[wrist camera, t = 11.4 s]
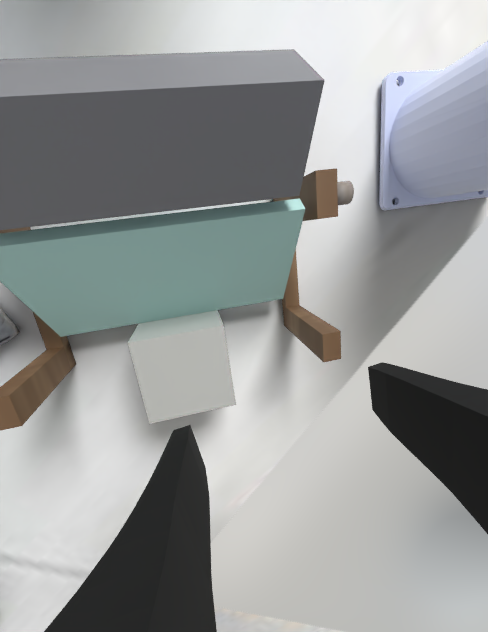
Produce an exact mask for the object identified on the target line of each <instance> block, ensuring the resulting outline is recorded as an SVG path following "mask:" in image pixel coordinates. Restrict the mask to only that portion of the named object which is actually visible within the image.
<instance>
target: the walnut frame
mask: <svg viewBox="0 0 488 632" xmlns="http://www.w3.org/2000/svg"><path fill="white" fill-rule="evenodd" d="M353 194H354V188H353V185H352V183H351V182H350V181H344V182H337V169H328V170H318V171H314V172H312V173H310V174H308V175H306V176H304V177H303V181H302V186H301V190H300V195H299V196H292V197H284V198H275V199H273V200H274V201H283V200H291V199H300V200H301V202H302V204H303V205H304V207H305V213H304V217H303V221H306V220H314V219H322V218H329V217H337V216H338V205H344V204H349V203H350V202H351V201H352V198H353ZM26 230H31V229H30V227H24V228H15V229H6V230H0V234H1V233H9V232H18V231H26ZM282 306H283V318H284V326H285V327H286V328H287V329H289V330H290V331H291V332H292V333H293V334H294V335H295V336H296V337H297V338H298V339H299V340H300V341H301V342H302V343H304V344H305V345H306V346H307V347H308V348H309V349H310V350H311V351H312V352H313V353H314V354H315V355H316V356H317V357H319V358H320V359H321V360H322V361H323V362H328V361H332V360H337V359H341V336H340V331H339V330H338V329H336V328H335V327H333V326H331V325H330V324H328V323H327V322H325V321H323V320H322V319H320V318H319V317H317V316H315V315H314V314H312V313H311V312H309V311H307V310H306V309H304V308H303V307H301V306H299V293H298V278H297V263H296V249H295V253H294V257H293V261H292V265H291V269H290V273H289V277H288V281H287V285H286V289H285V293H284V297H283V299H282ZM33 314H34V317H35V319H36V322H37V325H38V328H39V330H40V333H41V336H42V339H43V341H44V344H45V347H46V349H47V350H46V351H45V352H44V353H42V354H41V355H40V356H39V357H37V358H36V359H35V360H34V361H32V362H31V363H30V364H29V365H27V366H26V367H25V368H24V369H22V370H21V371H20V372H19V373H17V374H16V375H15V376H14V377H13V378H11V379H10V380H9V381H8V382H6V383H5V384H4V385H3V386H1V387H0V430H5V429H10V428H14V427H19V426H22V425H23V424H24V423H25V422H26V421H27V420H28V419H29V417H30V416H31V415H32V414H33V413H34V412H35V411H36V409H37V408H38V407H39V406H40V405H41V404H42V403H43V401H44V400H45V399H46V398H47V397H48V396H49V395H50V393H51V392H52V391H53V390H54V389H55V388H56V387H57V385H58V384H59V383H60V382H61V381H62V380H63V379H64V377H65V376H66V375H67V374H68V373H69V372H70V371H71V369H72V368H73V367H74V366H75V365H76V362H75V359H74V356H73V353H72V350H71V347H70V344H69V341H68V339H67V336H63V337H60V336H59V335H58V334H57V333H56V332H55V331H54V330H53V329H52V328H51V327H49V326H48V325H47V324H46V323H45V322H44V321H43V320H42V319H41V318H40V317H39V316H37V315H36V314H35V313H34V312H33Z"/></svg>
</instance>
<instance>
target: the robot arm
mask: <svg viewBox="0 0 488 632" xmlns="http://www.w3.org/2000/svg"><path fill="white" fill-rule="evenodd" d="M396 80H398V81H399V86H398V85H397V83H396ZM478 191H479V192H478ZM484 197H488V41H487V42H485V43H483V44H482V45H480V46H479V47H477V48H476V49H474V50H473V51H471V52H470V53H468V54H467V55H465V56H464V57H462V58H460V59H459V60H457V61H456V62H454V63H453V64H451V65H450V66H448V67H447V68H445V69H444V70H425V71H405V72H391V73H389V74H388V75H387V76H386V77H384V79H383V81H382V103H381V151H380V200H379V204H380V207H381V209H383V210H391V209H399V208H407V207H414V206H422V205H430V204H437V203H445V202H453V201H461V200H468V199H476V198H484ZM393 199H395V204H394V205H393V203H392V200H393ZM368 370H369V380H370V389H371V399H372V408H373V411H374V412H375V413H376V415H377V416H378V417H379V418H380V420H381V421H382V422H383V424H384V425H385V426H386V427H387V428H388V430H389V431H390V432H391V433H392V434H393V435H394V436H395V437H396V438H397V439H398V440H399V441H400V442H401V443H402V444H403V445H404V446H405V447H406V448H407V449H408V450H409V451H411V453H412V454H413V455H414V456H415V457H417V458H418V459H419V460H420V461H421V462H422V463H423V464H424V465H425V466H426V467H427V468H428V469H429V470H430V471H431V472H432V473H433V474H434V475H435V476H436V477H437V478H438V479H439V480H440V481H441V482H442V483H443V484H444V485H445V486H446V487H447V488H448V489H449V490H450V491H451V492H452V493H453V494H454V495H455V497H456V498H457V499H458V500H459V501H460V502H461V503H462V505H463V506H464V507H465V508H466V509H467V510H468V511H469V513H470V514H471V515H472V516H473V517H474V518H475V520H476V521H477V522H478V523H479V524H480V525H481V527H482V528H483V529H484V530H485V531H486V532H487V534H488V390H487V389H482V388H477V387H474V386H469V385H465V384H460V383H456V382H453V381H449V380H445V379H442V378H438V377H434V376H431V375H427V374H424V373H420V372H417V371H413V370H410V369H406V368H403V367H399V366H395V365H391V364H387V363H379V364H376V365H373V366H370V367H368ZM210 549H211V548H210V507H209V491H208V483H207V476H206V468H205V465H204V462H203V459H202V457H201V454H200V451H199V448H198V446H197V443H196V440H195V437H194V434H193V432H192V429H191V426H190V425H189V426H186V427H183V428H180V429H176V430H174V431H173V433H172V434H171V437H170V439H169V441H168V443H167V445H166V448H165V450H164V452H163V454H162V456H161V458H160V461H159V463H158V465H157V467H156V469H155V471H154V473H153V475H152V477H151V479H150V481H149V483H148V484H147V486H146V488H145V490H144V492H143V493H142V495H141V497H140V499H139V501H138V502H137V504H136V506H135V508H134V510H133V511H132V513H131V515H130V516H129V518H128V519H127V521H126V523H125V524H124V526H123V528H122V529H121V531H120V532H119V534H118V535H117V537H116V538H115V540H114V541H113V543H112V544H111V546H110V547H109V549H108V550H107V552H106V553H105V554H104V556H103V557H102V558H101V560H100V561H99V562H98V564H97V565H96V566H95V568H94V569H93V570H92V572H91V573H90V575H89V576H88V577H87V579H86V580H85V581H84V583H83V584H82V585H81V587H80V588H79V589H78V591H77V592H76V593H75V594H74V596H73V597H72V598H71V599H70V601H69V602H68V603H67V604H66V606H65V607H64V608H63V609H62V611H61V612H60V613H59V614H58V616H57V617H56V618H55V619H54V620H53V622H52V623H51V624H50V625H49V626H48V628H47V629H46V630H45V631H44V632H217V631H216V622H215V612H214V603H213V593H212V581H211V580H212V579H211V550H210Z"/></svg>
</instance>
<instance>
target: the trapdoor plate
mask: <svg viewBox="0 0 488 632" xmlns="http://www.w3.org/2000/svg"><path fill="white" fill-rule="evenodd" d="M323 84H324V79H323V78H322V77H321V76H320V75H319V74H318V73H317V72H316V71H315V70H314V69H313V68H312V67H311V66H310V65H309V64H308V63H307V62H306V61H305V60H304V59H303V58H302V57H301V56H300V55H299V54H298V53H297V52H296V51H295V50H294V49H292V50H262V51H233V52H204V53H175V54H146V55H116V56H87V57H58V58H29V59H0V230H6V229H15V228H24V227H32V226H41V225H50V224H58V223H67V222H76V221H84V220H93V219H102V218H110V217H119V216H128V215H136V214H145V213H154V212H162V211H171V210H180V209H188V208H197V207H206V206H214V205H223V204H232V203H240V202H249V201H258V200H266V199H275V198H284V197H292V196H299V195H300V190H301V186H302V181H303V176H304V172H305V167H306V163H307V158H308V153H309V149H310V144H311V140H312V135H313V130H314V126H315V121H316V116H317V112H318V107H319V103H320V98H321V93H322V89H323ZM304 213H305V207H304V205H303V204H302V202H301V200H300V199H291V200H283V201H274V202H266V203H257V204H248V205H240V206H231V207H223V208H214V209H206V210H197V211H189V212H180V213H172V214H163V215H155V216H146V217H137V218H129V219H120V220H112V221H103V222H95V223H86V224H78V225H69V226H61V227H52V228H43V229H35V230H26V231H18V232H9V233H1V234H0V282H1V283H3V284H4V285H5V286H6V287H7V288H8V289H9V290H10V291H11V292H12V293H13V294H15V295H16V296H17V297H18V298H19V299H20V300H21V301H22V302H23V303H24V304H25V305H27V306H28V307H29V308H30V309H31V310H32V311H33V312H34V313H35V314H36V315H37V316H39V317H40V318H41V319H42V320H43V321H44V322H45V323H46V324H47V325H48V326H49V327H51V328H52V329H53V330H54V331H55V332H56V333H57V334H58V335H59V336H60V337H63V336H69V335H75V334H81V333H86V332H92V331H98V330H104V329H110V328H116V327H121V326H127V325H133V324H139V323H145V322H151V321H157V320H162V319H168V318H174V317H180V316H186V315H192V314H197V313H203V312H209V311H215V310H221V309H227V308H233V307H238V306H244V305H250V304H256V303H262V302H268V301H273V300H279V299H283V297H284V293H285V289H286V285H287V281H288V277H289V273H290V269H291V265H292V261H293V257H294V253H295V249H296V245H297V241H298V237H299V233H300V229H301V225H302V221H303V217H304Z"/></svg>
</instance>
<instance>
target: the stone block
mask: <svg viewBox="0 0 488 632" xmlns="http://www.w3.org/2000/svg"><path fill="white" fill-rule="evenodd" d="M128 346H129V350H130V354H131V357H132V361H133V365H134V369H135V372H136V376H137V380H138V383H139V387H140V391H141V395H142V398H143V402H144V406H145V409H146V413H147V417H148V420H149V424H152V423H156V422H161V421H165V420H170V419H174V418H179V417H183V416H188V415H192V414H197V413H201V412H206V411H210V410H214V409H219V408H223V407H228V406H232V405H236V402H235V395H234V389H233V382H232V376H231V369H230V363H229V356H228V350H227V344H226V337H225V331H224V325H223V322H222V320H221V317H220V315H219V312H218V310H215V311H209V312H203V313H197V314H192V315H186V316H180V317H174V318H168V319H162V320H157V321H151V322H145V323H139V324H138V325H137V327H136V329H135V331H134V332H133V334H132V336H131V338H130V339H129V341H128Z"/></svg>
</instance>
